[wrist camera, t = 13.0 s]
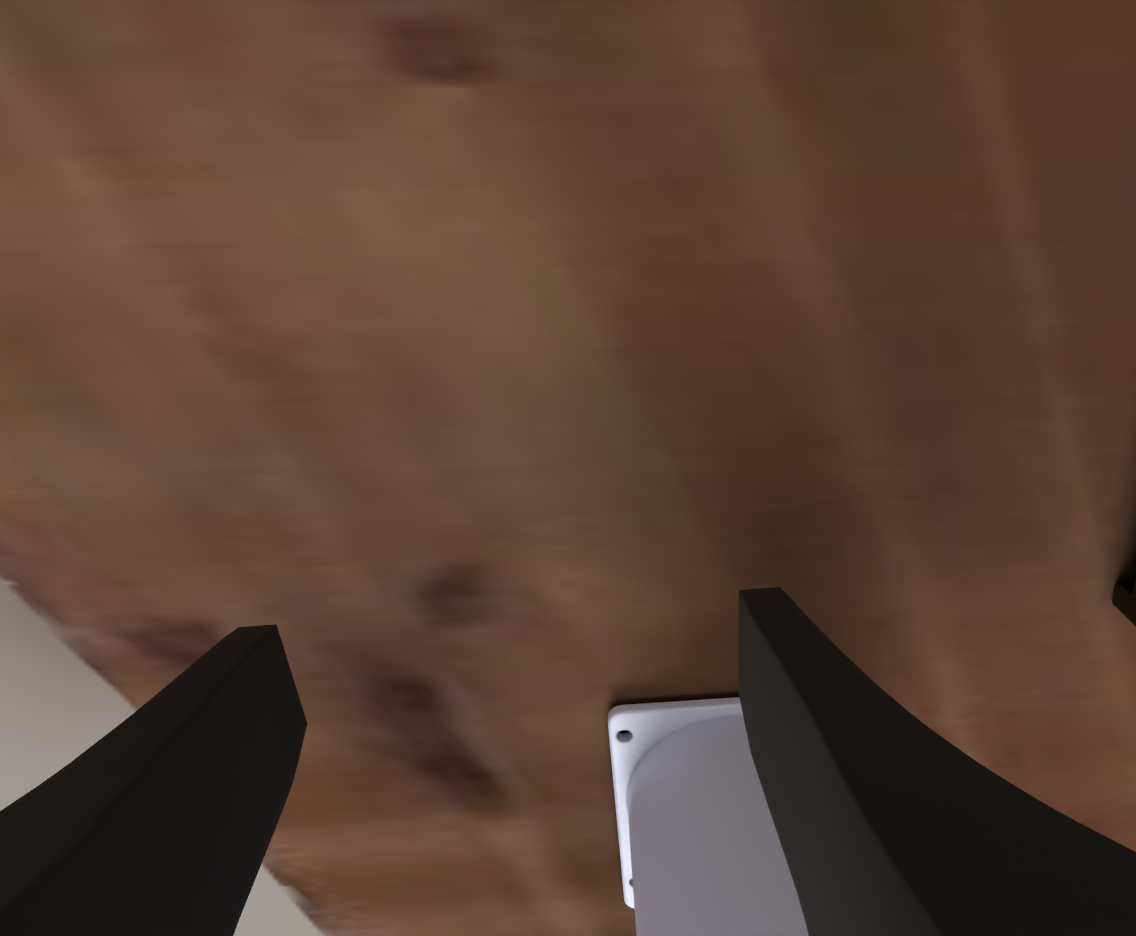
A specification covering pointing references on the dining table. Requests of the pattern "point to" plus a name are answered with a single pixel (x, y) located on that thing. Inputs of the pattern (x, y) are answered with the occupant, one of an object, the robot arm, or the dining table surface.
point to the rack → (1126, 599)
